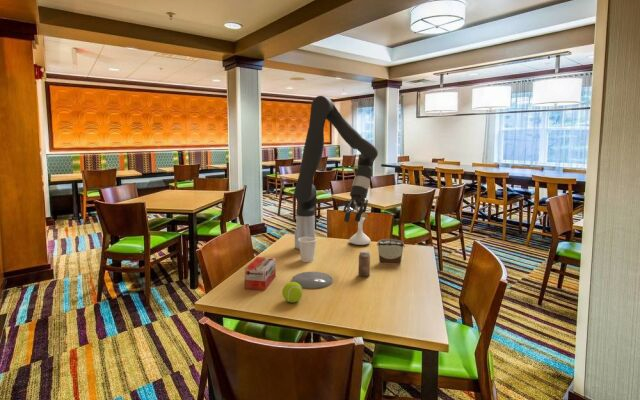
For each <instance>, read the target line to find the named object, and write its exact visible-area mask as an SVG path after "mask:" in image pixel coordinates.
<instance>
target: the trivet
mask: <svg viewBox="0 0 640 400" xmlns="http://www.w3.org/2000/svg"><path fill="white" fill-rule="evenodd" d="M291 278H292V279H291V282H297V283H298V284H300V285H301V287H302V289H309V290H311V289H313V290H314V289H315V290H316V289H324V288H326V287H328V286H329V287H330V285H331V284H333V277H332V275H330V274H328V273H327V272H326V273H325V272H321V271H304V272H300V273H296V274H295V275H293V276H292V277H291Z"/></svg>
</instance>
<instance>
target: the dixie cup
mask: <svg viewBox="0 0 640 400" xmlns="http://www.w3.org/2000/svg"><path fill="white" fill-rule="evenodd" d="M298 241H299V247H300V250H299V253H300V260H301V262H304V263H311V262H313V261H314V259H315V258H314V257H315V253H316V252H315V251H316V245H317V244H316V243H317V238H314V237H301V238H299V239H298Z"/></svg>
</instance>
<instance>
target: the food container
mask: <svg viewBox="0 0 640 400" xmlns="http://www.w3.org/2000/svg"><path fill="white" fill-rule="evenodd" d="M376 246H377V248H378V249H377V250H378V260H379V261H378V262H379V264H381V265H382V264H383V265H387V264H388V265H401V264H402V257H403V252H404V251H403V250H404V248H405V243H404V241H402V240H399V239H395V238H394V239H393V238H383V239H379V240H378V241H377V243H376Z"/></svg>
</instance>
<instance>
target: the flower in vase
mask: <svg viewBox="0 0 640 400" xmlns="http://www.w3.org/2000/svg"><path fill="white" fill-rule="evenodd" d="M363 209H364V207H363ZM355 212H356V213H358V212H357V209H356V210H355ZM368 217H369V216H368V214H367V212H365V213H364V212H363V214H361V218H360V221H359V222H357V232H356V233H355V234H353V235H352V236H350V238H349V240H348V241H349V243H351V244H353V245H357V246H363V245H368V244H370V243H371V242H372V241H371V239H370V237H369V236H367V235H366V233H364V230H363V225H364V221H365V220H366V218H368Z"/></svg>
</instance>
